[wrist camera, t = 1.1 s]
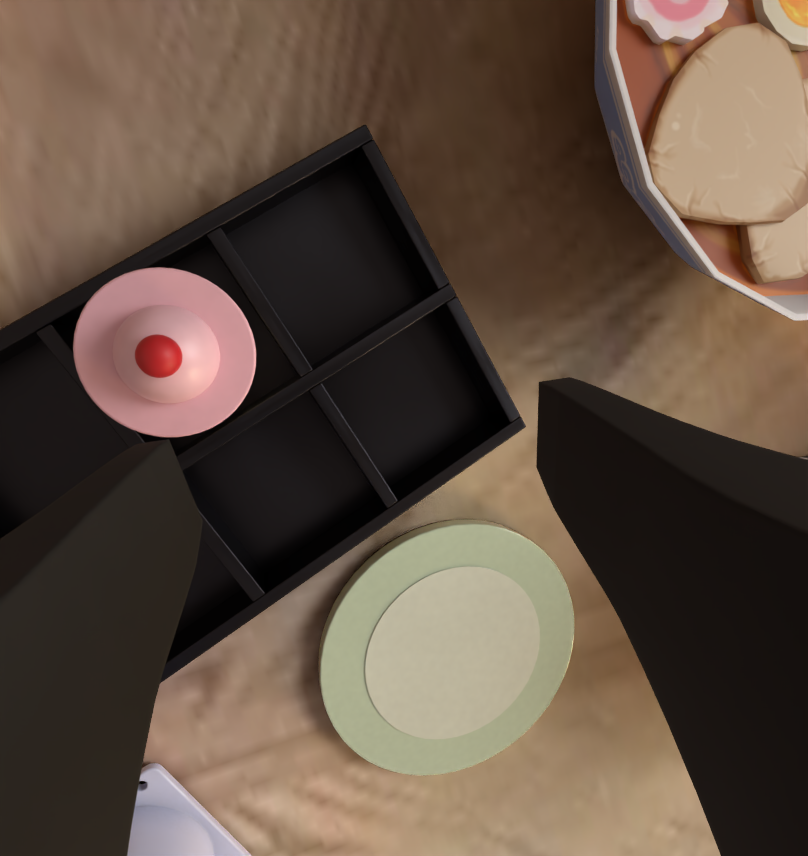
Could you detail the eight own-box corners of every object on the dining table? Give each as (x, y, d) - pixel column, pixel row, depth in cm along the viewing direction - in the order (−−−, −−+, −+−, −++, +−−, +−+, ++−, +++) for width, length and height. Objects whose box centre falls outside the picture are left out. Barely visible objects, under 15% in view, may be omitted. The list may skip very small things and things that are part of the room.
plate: (408, 812, 28) (412, 826, 27) (260, 632, 24) (260, 642, 24) (603, 655, 30) (613, 664, 29) (496, 465, 26) (504, 469, 25)
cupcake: (174, 437, 22) (131, 488, 14) (90, 329, 20) (-7, 322, 13) (280, 370, 22) (292, 386, 15) (207, 261, 21) (180, 218, 13)
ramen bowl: (553, -302, 21) (724, -671, 13) (919, -87, 28) (1176, -252, 20) (460, 310, 24) (555, 296, 17) (808, 372, 31) (992, 383, 23)
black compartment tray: (503, 419, 26) (526, 426, 24) (130, 677, 23) (116, 714, 21) (354, 145, 22) (365, 123, 20) (-121, 415, 19) (-173, 426, 17)
